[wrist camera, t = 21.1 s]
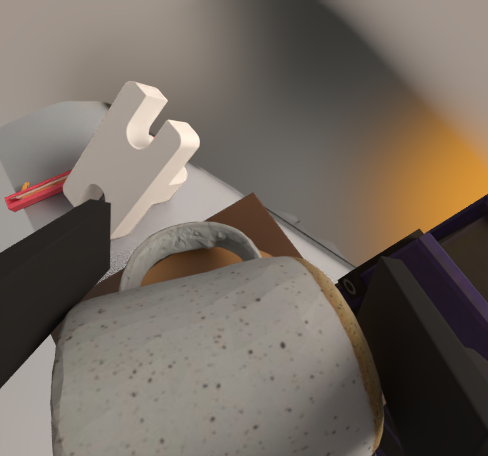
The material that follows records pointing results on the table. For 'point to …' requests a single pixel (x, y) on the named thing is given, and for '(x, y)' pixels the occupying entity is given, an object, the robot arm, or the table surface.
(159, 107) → the white slotted bracket
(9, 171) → the table surface
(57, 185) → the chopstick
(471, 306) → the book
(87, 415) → the ceramic mug
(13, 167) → the table surface
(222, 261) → the brown square coaster
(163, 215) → the table surface
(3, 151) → the table surface
